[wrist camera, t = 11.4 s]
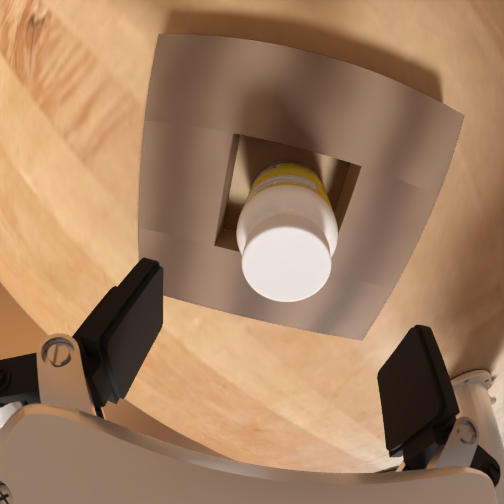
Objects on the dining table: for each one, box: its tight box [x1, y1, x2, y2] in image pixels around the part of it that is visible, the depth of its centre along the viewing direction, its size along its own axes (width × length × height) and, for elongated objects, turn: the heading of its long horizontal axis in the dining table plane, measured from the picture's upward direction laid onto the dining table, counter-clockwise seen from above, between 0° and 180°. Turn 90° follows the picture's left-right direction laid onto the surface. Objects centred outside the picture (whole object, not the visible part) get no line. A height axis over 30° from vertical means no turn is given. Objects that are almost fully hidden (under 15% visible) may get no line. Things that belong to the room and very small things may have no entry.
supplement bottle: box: [236, 161, 338, 302], centre depth 17 cm, size 5×5×10 cm
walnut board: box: [138, 34, 464, 340], centre depth 19 cm, size 20×20×3 cm
